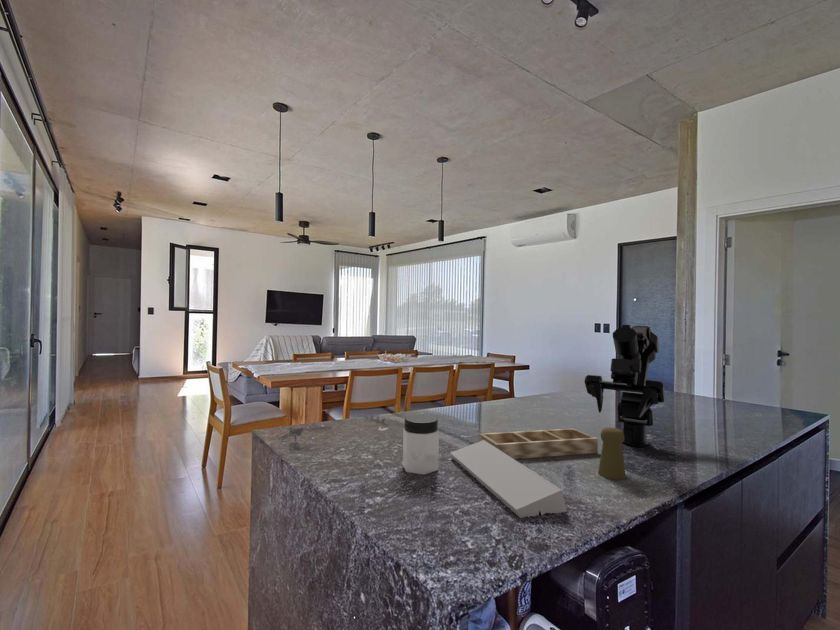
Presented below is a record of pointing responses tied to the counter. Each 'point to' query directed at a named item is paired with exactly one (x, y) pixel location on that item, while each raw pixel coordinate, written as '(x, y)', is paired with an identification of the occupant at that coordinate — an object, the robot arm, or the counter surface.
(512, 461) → the decorative molding
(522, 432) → the spice rack
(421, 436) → the jar
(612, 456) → the olive pepper mill
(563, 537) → the counter surface
